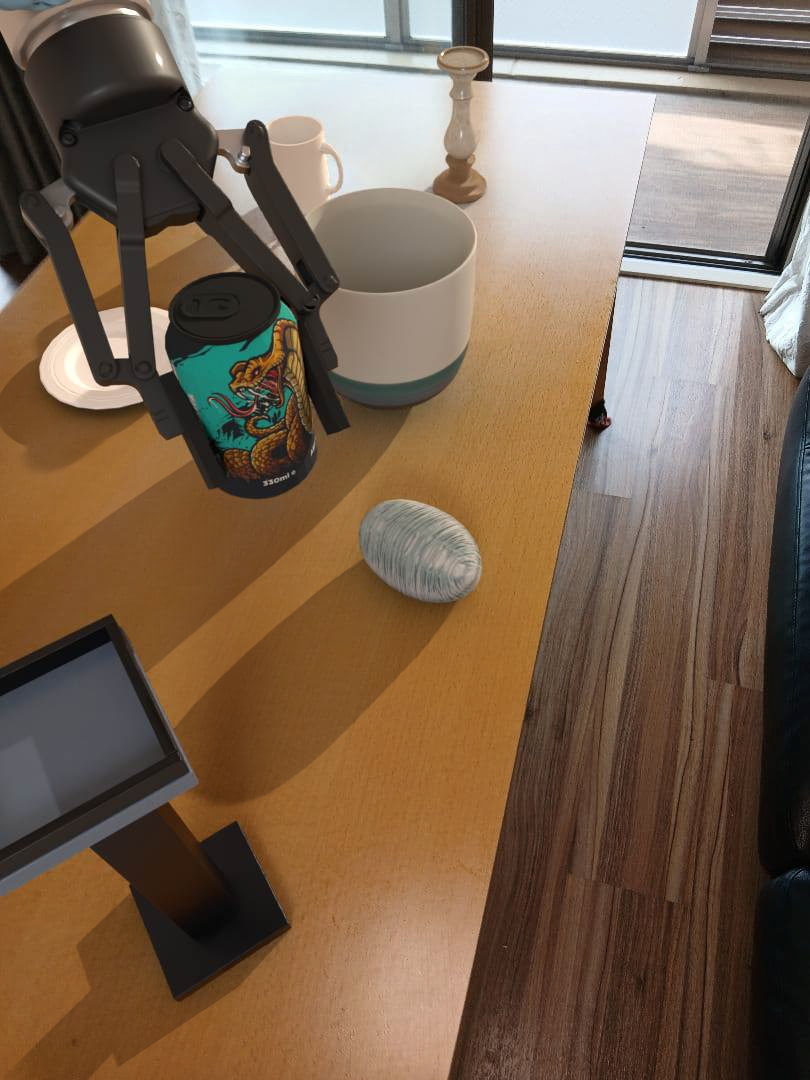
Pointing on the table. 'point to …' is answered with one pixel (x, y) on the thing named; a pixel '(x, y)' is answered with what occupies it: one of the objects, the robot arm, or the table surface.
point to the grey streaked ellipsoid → (420, 551)
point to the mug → (303, 159)
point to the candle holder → (461, 127)
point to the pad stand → (122, 804)
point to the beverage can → (244, 381)
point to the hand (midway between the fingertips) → (279, 457)
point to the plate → (71, 372)
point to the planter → (396, 293)
